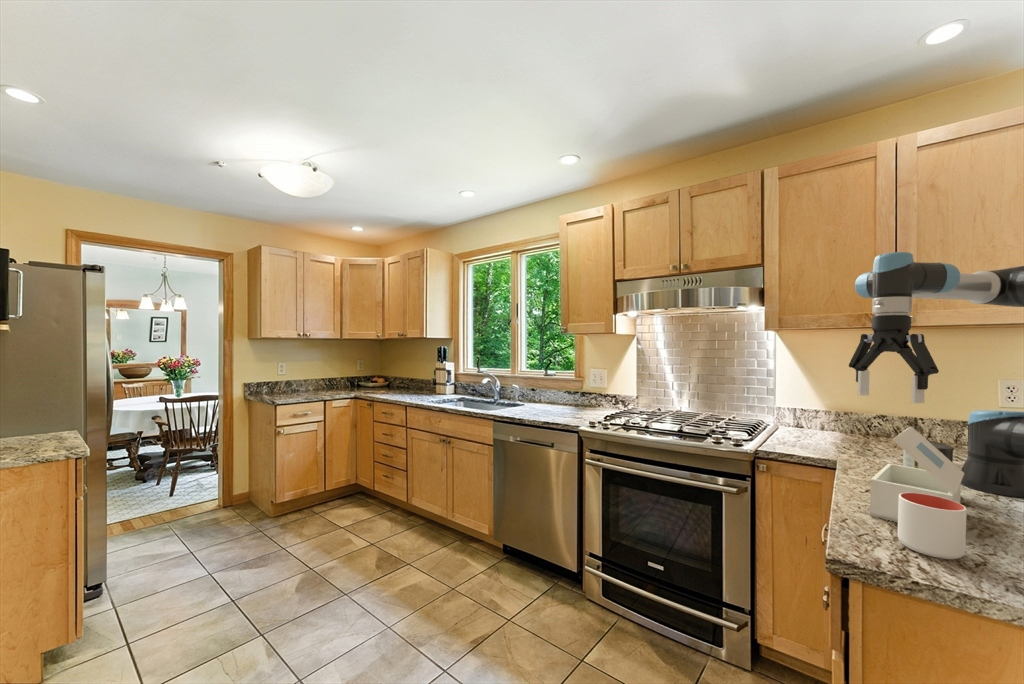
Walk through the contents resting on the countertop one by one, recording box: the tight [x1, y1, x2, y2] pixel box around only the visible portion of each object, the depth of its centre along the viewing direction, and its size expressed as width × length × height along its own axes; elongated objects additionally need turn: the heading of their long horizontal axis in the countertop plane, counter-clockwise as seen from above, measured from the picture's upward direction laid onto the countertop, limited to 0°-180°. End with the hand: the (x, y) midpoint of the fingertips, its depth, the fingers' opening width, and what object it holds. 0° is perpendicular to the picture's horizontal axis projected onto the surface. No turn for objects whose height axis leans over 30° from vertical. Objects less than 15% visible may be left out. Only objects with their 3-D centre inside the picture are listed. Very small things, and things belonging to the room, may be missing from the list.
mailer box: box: [869, 462, 962, 524], centre depth 107 cm, size 14×22×9 cm, turn 131°
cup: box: [897, 493, 968, 560], centre depth 89 cm, size 10×10×10 cm
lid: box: [892, 425, 964, 495], centre depth 106 cm, size 14×23×1 cm
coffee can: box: [902, 441, 955, 470], centre depth 122 cm, size 10×10×14 cm
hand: (888, 399), depth 109 cm, fingers open, 13 cm apart
